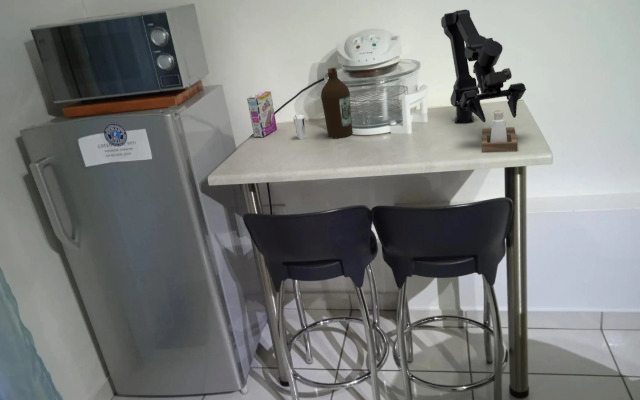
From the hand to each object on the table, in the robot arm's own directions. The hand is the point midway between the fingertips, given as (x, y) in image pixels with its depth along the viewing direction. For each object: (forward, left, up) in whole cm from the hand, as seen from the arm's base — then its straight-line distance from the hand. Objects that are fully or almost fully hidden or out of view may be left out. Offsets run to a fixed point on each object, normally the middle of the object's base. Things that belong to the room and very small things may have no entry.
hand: (499, 119), depth 147 cm
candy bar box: (-27, -90, -9) cm, 94 cm away
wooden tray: (-4, 0, -9) cm, 9 cm away
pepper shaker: (-1, 0, -9) cm, 9 cm away
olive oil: (-21, -56, -9) cm, 60 cm away
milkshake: (-19, -71, -9) cm, 74 cm away
